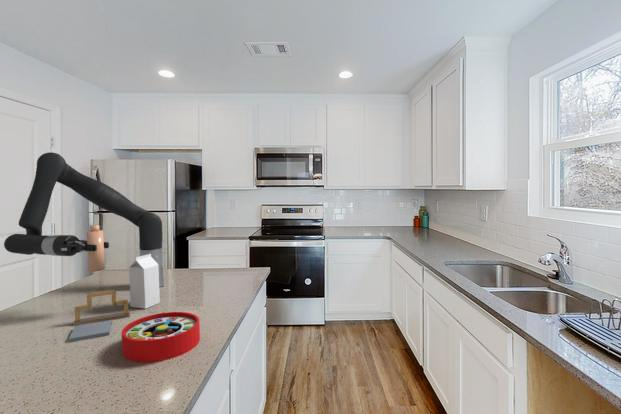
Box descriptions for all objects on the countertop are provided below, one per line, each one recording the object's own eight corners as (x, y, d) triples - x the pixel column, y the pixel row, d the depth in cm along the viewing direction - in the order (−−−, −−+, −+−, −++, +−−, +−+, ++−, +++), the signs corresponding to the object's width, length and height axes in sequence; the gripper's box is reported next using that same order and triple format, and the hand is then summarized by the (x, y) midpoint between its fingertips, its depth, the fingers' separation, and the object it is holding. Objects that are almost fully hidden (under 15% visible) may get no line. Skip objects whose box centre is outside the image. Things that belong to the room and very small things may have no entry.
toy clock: (105, 341, 84) (143, 312, 104) (106, 364, 85) (144, 330, 105) (185, 340, 85) (207, 311, 105) (186, 362, 85) (208, 329, 105)
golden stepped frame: (129, 314, 118) (128, 287, 117) (129, 316, 115) (128, 289, 115) (75, 322, 111) (73, 294, 110) (73, 325, 108) (71, 296, 108)
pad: (111, 323, 110) (111, 320, 110) (109, 335, 101) (109, 331, 101) (75, 329, 105) (74, 326, 105) (68, 342, 96) (68, 338, 96)
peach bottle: (105, 267, 123) (103, 224, 122) (104, 270, 119) (102, 225, 118) (89, 269, 121) (87, 225, 120) (87, 272, 116) (85, 226, 115)
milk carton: (160, 303, 129) (158, 254, 128) (145, 309, 122) (143, 258, 121) (145, 301, 131) (143, 253, 130) (130, 307, 125) (128, 256, 124)
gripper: (41, 238, 114) (85, 239, 112) (77, 232, 128) (116, 233, 126) (42, 259, 115) (86, 261, 112) (78, 251, 129) (117, 253, 126)
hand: (102, 246), depth 119 cm, fingers closed on peach bottle, 5 cm apart
